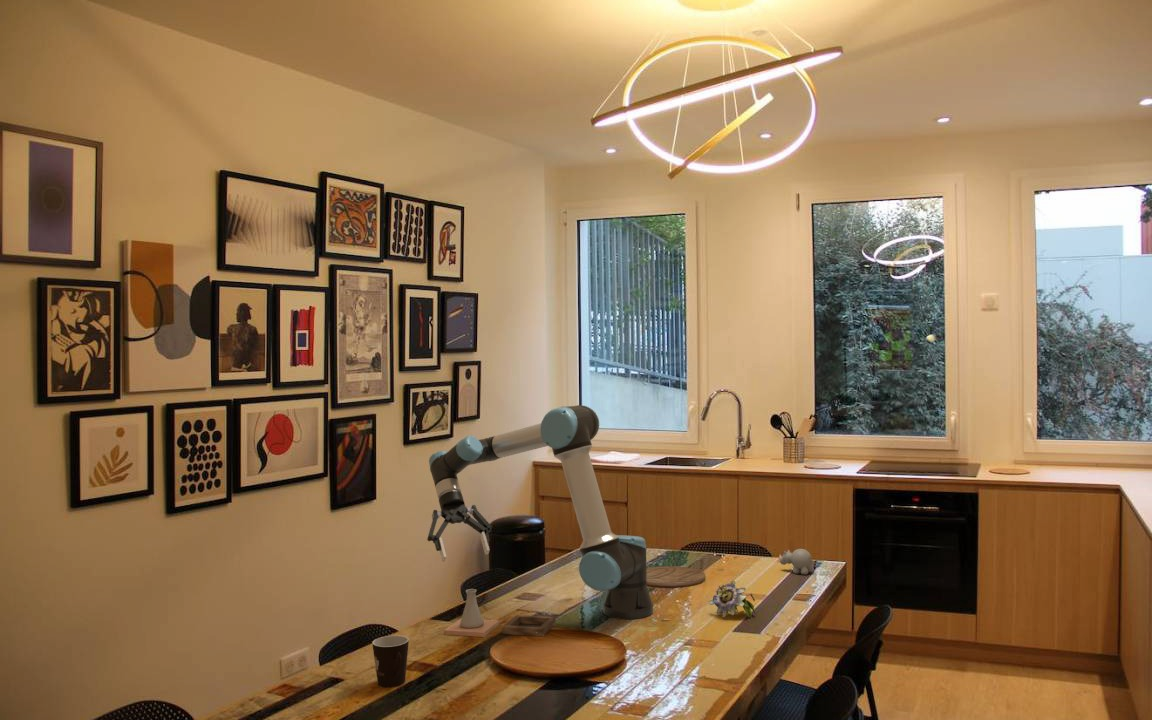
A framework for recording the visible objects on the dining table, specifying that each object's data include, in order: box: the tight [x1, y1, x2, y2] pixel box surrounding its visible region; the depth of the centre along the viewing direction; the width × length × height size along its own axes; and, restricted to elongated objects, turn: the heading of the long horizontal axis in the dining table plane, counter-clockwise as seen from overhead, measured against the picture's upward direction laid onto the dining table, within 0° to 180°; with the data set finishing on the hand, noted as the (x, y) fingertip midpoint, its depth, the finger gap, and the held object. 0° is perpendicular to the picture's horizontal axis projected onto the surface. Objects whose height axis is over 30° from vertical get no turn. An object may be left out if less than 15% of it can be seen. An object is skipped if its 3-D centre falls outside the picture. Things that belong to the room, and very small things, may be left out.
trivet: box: [646, 565, 706, 589], centre depth 307 cm, size 25×25×2 cm
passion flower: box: [707, 579, 756, 619], centre depth 262 cm, size 11×11×12 cm
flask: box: [460, 588, 484, 628], centre depth 253 cm, size 7×7×10 cm
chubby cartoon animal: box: [779, 548, 814, 576], centre depth 312 cm, size 7×12×8 cm, turn 48°
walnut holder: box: [501, 614, 557, 637], centre depth 252 cm, size 12×12×2 cm
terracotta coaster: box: [443, 618, 500, 638], centre depth 253 cm, size 12×12×1 cm
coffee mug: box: [371, 635, 410, 689], centre depth 210 cm, size 12×9×10 cm
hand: (466, 555), depth 266 cm, fingers open, 13 cm apart
